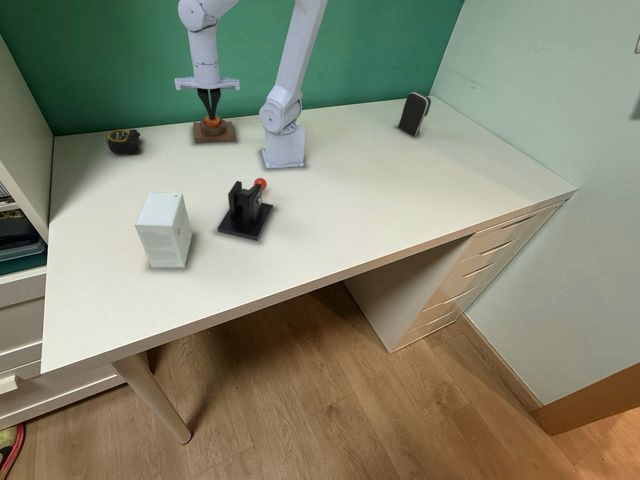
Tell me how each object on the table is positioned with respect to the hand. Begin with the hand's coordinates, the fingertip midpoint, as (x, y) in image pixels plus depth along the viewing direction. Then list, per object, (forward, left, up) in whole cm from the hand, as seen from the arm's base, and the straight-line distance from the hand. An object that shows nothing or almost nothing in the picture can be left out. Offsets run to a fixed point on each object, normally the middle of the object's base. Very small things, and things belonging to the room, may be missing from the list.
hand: (212, 117), depth 84 cm
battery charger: (-59, +2, -5) cm, 59 cm away
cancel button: (0, 0, -2) cm, 2 cm away
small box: (+10, +40, -5) cm, 42 cm away
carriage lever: (-6, +31, -2) cm, 31 cm away
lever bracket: (-4, +34, -5) cm, 35 cm away
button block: (0, 0, -5) cm, 5 cm away
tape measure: (+20, +5, -5) cm, 21 cm away
